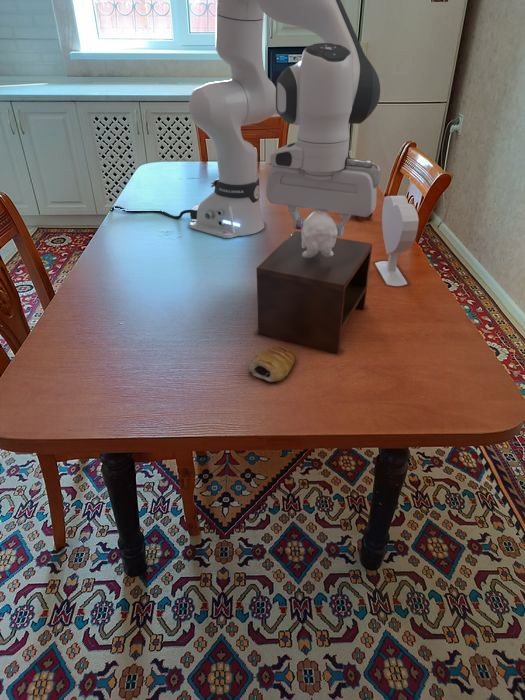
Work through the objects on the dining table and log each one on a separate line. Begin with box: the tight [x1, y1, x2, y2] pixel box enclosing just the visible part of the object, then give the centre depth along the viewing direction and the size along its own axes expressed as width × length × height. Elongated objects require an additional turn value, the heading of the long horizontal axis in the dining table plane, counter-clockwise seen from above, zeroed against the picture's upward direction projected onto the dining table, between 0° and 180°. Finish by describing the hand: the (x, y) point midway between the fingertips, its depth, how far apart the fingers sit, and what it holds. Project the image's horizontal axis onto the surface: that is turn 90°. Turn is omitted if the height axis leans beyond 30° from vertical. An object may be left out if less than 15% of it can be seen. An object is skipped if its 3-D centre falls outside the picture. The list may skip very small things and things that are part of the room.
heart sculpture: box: [374, 195, 420, 287], centre depth 115 cm, size 16×5×18 cm, turn 4°
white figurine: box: [300, 210, 338, 258], centre depth 92 cm, size 6×8×12 cm
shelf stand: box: [256, 230, 373, 355], centre depth 99 cm, size 17×19×15 cm
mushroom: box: [350, 211, 374, 220], centre depth 149 cm, size 8×8×6 cm
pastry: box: [248, 345, 297, 383], centre depth 90 cm, size 9×7×4 cm
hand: (318, 231), depth 92 cm, fingers closed on white figurine, 6 cm apart
